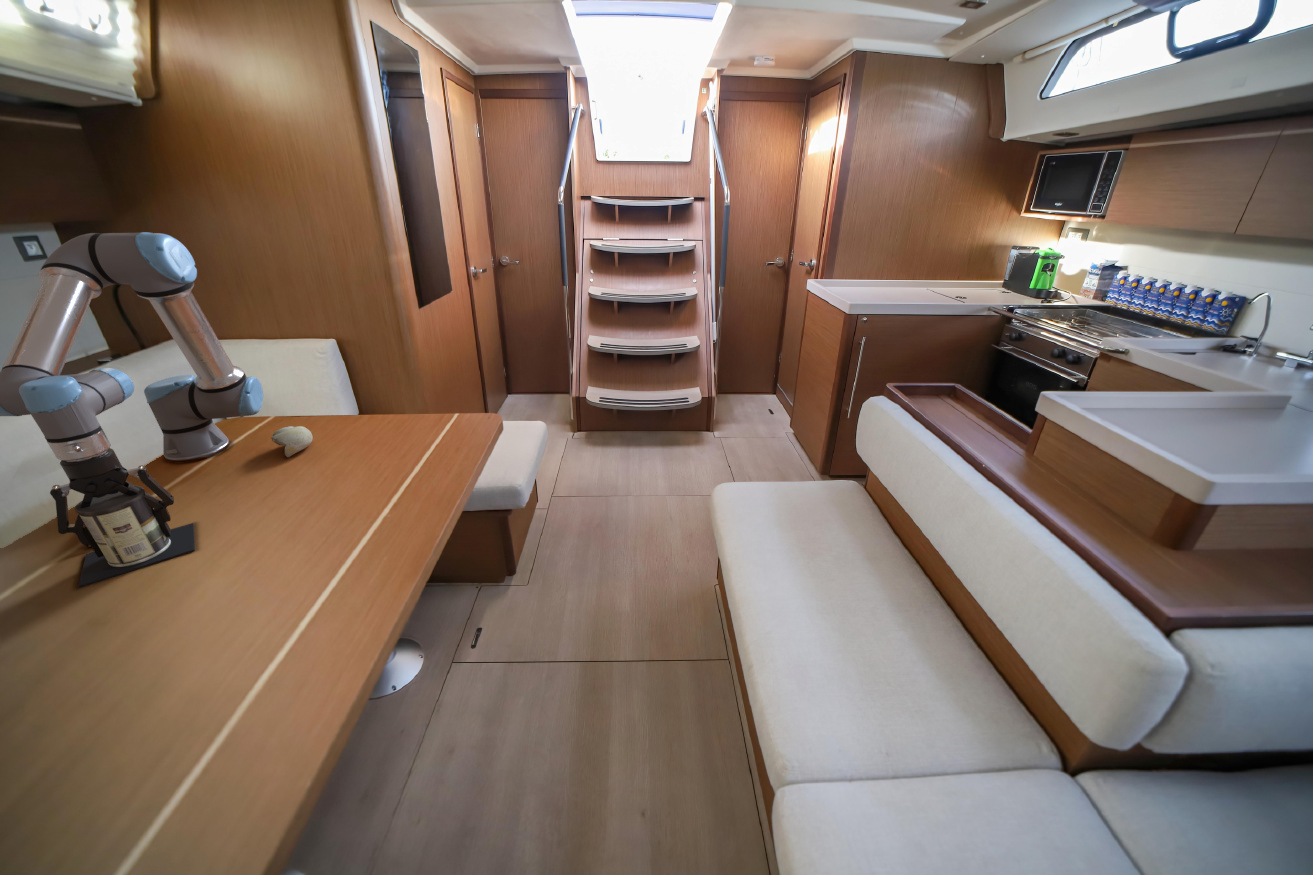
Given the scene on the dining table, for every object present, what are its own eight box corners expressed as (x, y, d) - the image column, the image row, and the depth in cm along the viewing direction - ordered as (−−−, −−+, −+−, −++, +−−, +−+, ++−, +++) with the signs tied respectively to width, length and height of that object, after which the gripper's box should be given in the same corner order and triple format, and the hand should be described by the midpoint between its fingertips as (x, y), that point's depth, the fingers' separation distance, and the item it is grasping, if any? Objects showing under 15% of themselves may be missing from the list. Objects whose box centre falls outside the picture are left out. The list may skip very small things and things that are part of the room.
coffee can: (152, 533, 116) (124, 481, 110) (182, 543, 113) (155, 490, 107) (95, 561, 107) (62, 506, 101) (126, 572, 104) (93, 516, 98)
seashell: (267, 424, 154) (303, 414, 158) (279, 445, 159) (315, 434, 163) (267, 444, 145) (306, 432, 149) (280, 465, 150) (318, 453, 154)
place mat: (87, 555, 110) (86, 554, 109) (193, 524, 120) (193, 522, 120) (78, 587, 101) (77, 586, 101) (194, 550, 111) (194, 549, 111)
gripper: (-6, 480, 90) (57, 575, 100) (161, 444, 104) (203, 531, 113) (3, 464, 95) (63, 556, 105) (162, 432, 109) (202, 516, 119)
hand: (135, 543), depth 109 cm, fingers closed on coffee can, 10 cm apart
